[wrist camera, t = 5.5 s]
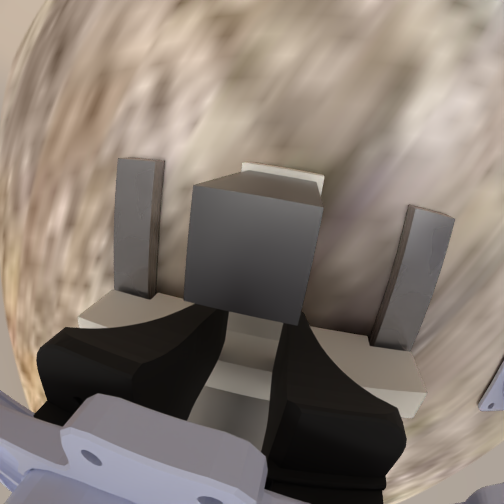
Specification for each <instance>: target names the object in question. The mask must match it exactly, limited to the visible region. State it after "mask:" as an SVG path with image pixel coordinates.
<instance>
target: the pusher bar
mask: <svg viewBox="0 0 504 504" xmlns="http://www.w3.org/2000/svg"><path fill="white" fill-rule="evenodd" d="M323 182H324V175H323V174H318V173H312V172H307V171H302V170H296V169H291V168H285V167H279V166H273V165H267V164H261V163H254V162H243V163H242V170H241V172H239V173H235V174H232V175H228V176H224V177H221V178H217V179H213V180H210V181H206V182H203V183H199V184H196V185H194V186H193V194H192V204H191V213H190V224H189V234H188V246H187V258H186V270H185V285H184V299H182V298H178V297H174V296H170V295H166V294H162V293H157V294H156V295H155V296H154V297H153V298H152V299H151V300H149V299H145V298H141V297H138V296H134V295H131V294H127V293H124V292H120V291H117V290H112V291H110V292H109V293H108V294H106V295H105V296H104V297H102V298H101V299H100V300H98V301H97V302H96V303H94V304H93V305H92V306H91V307H89V308H88V309H87V310H85V311H84V312H83V313H81V314H80V315H79V316H78V323H79V328H113V327H122V326H128V325H134V324H139V323H144V322H148V321H152V320H155V319H159V318H162V317H165V316H167V315H170V314H172V313H175V312H177V311H180V310H182V309H184V308H187V307H189V306H191V305H193V304H199V305H203V306H208V307H212V308H216V309H221V310H225V311H229V315H228V323H227V330H226V338H225V343H224V345H223V348H222V351H221V354H220V356H219V359H218V361H217V363H216V365H215V367H214V369H213V371H212V373H211V374H210V376H209V378H208V380H207V382H206V384H205V386H208V387H212V388H216V389H220V390H224V391H228V392H232V393H236V394H241V395H245V396H250V397H254V398H259V399H264V400H269V401H270V390H271V379H272V371H273V366H274V361H275V356H276V352H277V348H278V343H279V339H280V335H281V331H282V326H283V323H287V324H292V325H297V326H298V322H299V318H300V314H301V310H302V306H303V301H304V297H305V293H306V288H307V284H308V280H309V275H310V271H311V266H312V262H313V257H314V253H315V248H316V243H317V238H318V233H319V229H320V224H321V219H322V214H323V208H324V207H323V203H322V200H321V193H322V187H323ZM310 328H311V330H312V331H313V333H314V335H315V337H316V338H317V340H318V342H319V343H320V345H321V347H322V348H323V349H324V351H325V352H326V353H327V355H328V356H329V357H330V358H331V359H332V361H333V362H334V363H335V364H336V365H337V366H338V367H339V368H340V369H341V370H342V371H343V372H344V373H345V374H346V375H347V376H349V377H350V378H351V379H352V380H353V381H354V382H356V383H357V384H358V385H360V386H361V387H362V388H364V389H365V390H367V391H368V392H370V393H371V394H373V395H374V396H376V397H378V398H380V399H382V400H383V401H385V402H387V403H389V404H391V405H393V406H395V407H397V408H398V410H399V413H400V416H401V418H413V417H414V415H415V414H416V412H417V410H418V409H419V407H420V405H421V404H422V402H423V400H424V399H425V397H426V395H427V390H426V387H425V385H424V382H423V380H422V377H421V375H420V372H419V370H418V367H417V365H416V362H415V360H414V358H413V355H412V353H411V352H409V351H401V350H394V349H387V348H380V347H373V346H370V345H369V341H368V337H367V336H364V335H358V334H352V333H346V332H340V331H334V330H328V329H323V328H317V327H312V326H310Z"/></svg>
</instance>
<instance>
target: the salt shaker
mask: <svg viewBox="0 0 504 504" xmlns="http://www.w3.org/2000/svg"><path fill="white" fill-rule="evenodd" d="M268 412H269V400H264V399H259V398H254V397H250V396H245V395H241V394H236V393H232V392H228V391H224V390H220V389H216V388H212V387H208V386H205V385H204V387H203V389H202V391H201V393H200V394H199V396H198V398H197V400H196V402H195V404H194V406H193V408H192V410H191V413H190V415H189V418H188V420H187V421H189V422H192V423H196V424H199V425H203V426H206V427H210V428H214V429H217V430H221V431H225V432H228V433H230V434H232V435H235V436H237V437H240V438H242V439H245V440H248V441H249V442H250V443H251V444H252V445H253V446H255V447H256V448H257V449H258V450H259V451H260V452H261V450H262V445H263V441H264V436H265V432H266V427H267V421H268Z"/></svg>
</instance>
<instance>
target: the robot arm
mask: <svg viewBox="0 0 504 504" xmlns="http://www.w3.org/2000/svg"><path fill="white" fill-rule="evenodd" d="M228 315H229V311H225V310H221V309H216V308H212V307H208V306H203V305H199V304H193V305H191V306H189V307H187V308H184V309H182V310H180V311H177V312H175V313H172V314H170V315H167V316H165V317H162V318H159V319H155V320H152V321H148V322H144V323H139V324H134V325H128V326H122V327H113V328H70V327H65V328H64V329H63V330H61V331H60V332H59V333H58V334H56V335H55V336H54V337H53V338H51V339H50V340H49V341H48V342H47V343H45V344H44V345H43V346H42V347H40V349H39V351H38V352H37V360H36V361H37V368H38V372H39V376H40V379H41V382H42V386H43V389H44V392H45V395H46V398H47V401H46V402H45V404H44V405H43V406H42V407H41V408H40V409H39V410H38V411H37V412H36V413H33V412H32V411H30V410H29V409H27V408H26V407H24V406H22V405H21V404H20V403H18V402H17V401H15V400H14V399H12V398H11V397H9V396H8V395H6V394H5V393H3V392H2V391H1V390H0V482H1V483H2V484H3V485H4V486H5V487H6V488H8V489H9V490H10V491H11V492H12V494H11V495H10V497H9V498H8V499H7V501H6V502H5V503H4V504H383V495H382V490H384V489H385V488H386V477H385V475H386V474H387V473H388V472H389V470H390V469H391V468H392V467H393V465H394V464H395V463H396V461H397V460H398V459H399V458H400V456H401V455H402V453H403V451H404V449H405V447H406V440H407V438H406V434H405V430H404V425H403V422H402V419H401V416H400V413H399V410H398V408H397V407H395V406H393V405H391V404H389V403H387V402H385V401H383V400H382V399H380V398H378V397H376V396H374V395H373V394H371V393H370V392H368V391H367V390H365V389H364V388H362V387H361V386H360V385H358V384H357V383H356V382H354V381H353V380H352V379H351V378H350V377H349V376H347V375H346V374H345V373H344V372H343V371H342V370H341V369H340V368H339V367H338V366H337V365H336V364H335V363H334V362H333V361H332V359H331V358H330V357H329V356H328V355H327V353H326V352H325V351H324V349H323V348H322V347H321V345H320V343H319V342H318V340H317V338H316V337H315V335H314V333H313V331H312V330H311V328H310V326H309V324H308V321H307V319H306V317H305V315H304V313H303V312H302V311H301V314H300V318H299V322H298V326H297V325H292V324H287V323H283V326H282V331H281V335H280V339H279V343H278V348H277V352H276V356H275V361H274V366H273V371H272V379H271V390H270V401H269V412H268V421H267V427H266V432H265V436H264V441H263V445H262V450H261V452H260V451H259V450H258V449H257V448H256V447H255V446H253V445H252V444H251V443H250V442H249V441H248V440H245V439H242V438H240V437H237V436H235V435H232V434H230V433H228V432H225V431H221V430H217V429H214V428H210V427H206V426H203V425H199V424H196V423H192V422H189V421H187V420H188V418H189V415H190V413H191V410H192V408H193V406H194V404H195V402H196V400H197V398H198V396H199V394H200V393H201V391H202V389H203V387H204V385H205V384H206V382H207V380H208V378H209V376H210V374H211V373H212V371H213V369H214V367H215V365H216V363H217V361H218V359H219V356H220V354H221V351H222V348H223V345H224V343H225V338H226V330H227V323H228ZM478 408H479V410H480V411H499V410H504V361H503V363H502V364H501V366H500V368H499V370H498V372H497V374H496V375H495V377H494V379H493V381H492V382H491V384H490V386H489V387H488V389H487V391H486V392H485V394H484V396H483V397H482V399H481V400H480V402H479V404H478ZM455 504H504V483H500V484H495V485H490V486H485V487H482V488H480V489H478V490H477V491H475V492H474V493H473V494H472V495H471V496H470V497H469V498H468V499H467V500H466V502H461V503H455Z"/></svg>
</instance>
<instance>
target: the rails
mask: <svg viewBox="0 0 504 504" xmlns="http://www.w3.org/2000/svg"><path fill="white" fill-rule="evenodd" d="M164 164H165V161H160V160H151V159H140V158H118V165H117V178H116V193H115V215H114V289H115V290H117V291H120V292H124V293H127V294H131V295H134V296H138V297H141V298H145V299H149V300H151V299H152V298H153V297H154V296H155V295H156V278H157V254H158V235H159V220H160V207H161V195H162V184H163V174H164ZM454 221H455V219H454V218H452V217H450V216H448V215H446V214H443V213H439V212H436V211H432V210H428V209H424V208H421V207H417V206H413V205H409V206H408V211H407V215H406V219H405V223H404V228H403V232H402V236H401V239H400V243H399V247H398V251H397V254H396V258H395V262H394V265H393V269H392V272H391V275H390V279H389V282H388V285H387V289H386V292H385V295H384V298H383V301H382V304H381V307H380V310H379V313H378V316H377V319H376V322H375V325H374V328H373V331H372V333H371V336H370V339H369V345H370V346H373V347H380V348H387V349H394V350H401V351H409V352H410V351H411V348H412V346H413V344H414V341H415V339H416V336H417V334H418V332H419V329H420V327H421V324H422V322H423V319H424V316H425V314H426V311H427V309H428V306H429V303H430V300H431V298H432V295H433V292H434V289H435V286H436V283H437V280H438V277H439V274H440V271H441V268H442V264H443V261H444V258H445V255H446V251H447V248H448V244H449V240H450V237H451V233H452V229H453V225H454Z"/></svg>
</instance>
